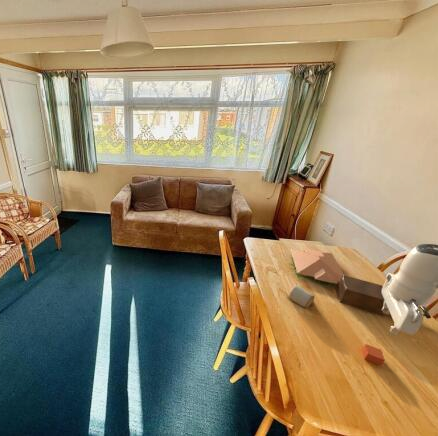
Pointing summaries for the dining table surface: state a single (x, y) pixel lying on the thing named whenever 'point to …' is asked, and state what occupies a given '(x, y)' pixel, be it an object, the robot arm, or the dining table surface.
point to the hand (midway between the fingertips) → (388, 321)
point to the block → (373, 354)
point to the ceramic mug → (301, 296)
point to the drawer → (421, 311)
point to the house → (317, 265)
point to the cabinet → (360, 294)
